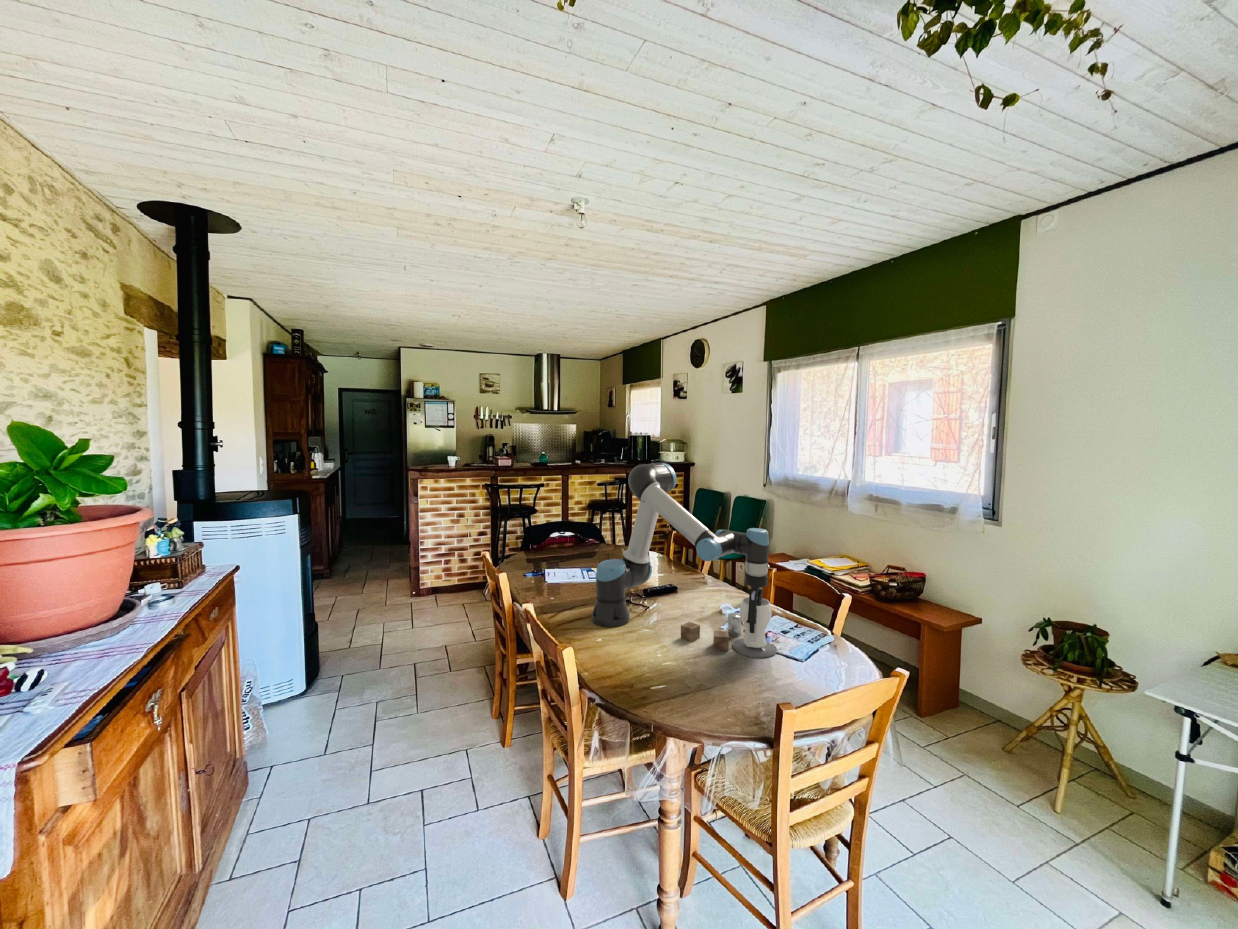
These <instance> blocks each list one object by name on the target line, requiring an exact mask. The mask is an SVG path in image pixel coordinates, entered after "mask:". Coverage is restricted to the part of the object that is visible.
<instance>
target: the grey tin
mask: <svg viewBox="0 0 1238 929" xmlns="http://www.w3.org/2000/svg"><path fill="white" fill-rule="evenodd" d="M727 632H728V635H729V636H731V637H741V635H742V619H741V615H740V613H738V612H737V613H735V612H731V613H728V614H727Z"/></svg>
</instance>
